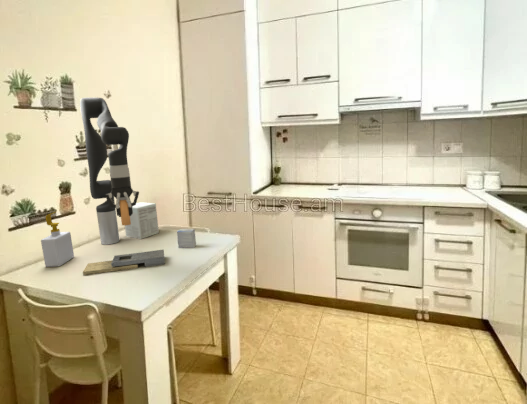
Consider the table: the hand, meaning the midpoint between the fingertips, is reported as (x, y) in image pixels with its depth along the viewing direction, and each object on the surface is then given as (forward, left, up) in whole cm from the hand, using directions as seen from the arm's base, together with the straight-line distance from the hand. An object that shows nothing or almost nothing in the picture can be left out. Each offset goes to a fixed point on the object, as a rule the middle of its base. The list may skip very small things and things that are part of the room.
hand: (125, 215), depth 147 cm
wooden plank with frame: (+1, -2, -22) cm, 22 cm away
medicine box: (-15, +25, -22) cm, 36 cm away
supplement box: (-48, +2, -22) cm, 52 cm away
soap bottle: (-16, -32, -22) cm, 42 cm away
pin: (0, 0, -4) cm, 4 cm away
